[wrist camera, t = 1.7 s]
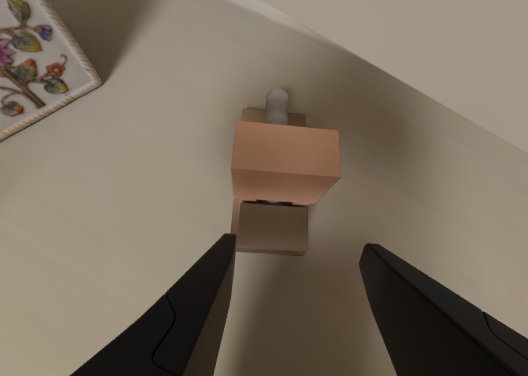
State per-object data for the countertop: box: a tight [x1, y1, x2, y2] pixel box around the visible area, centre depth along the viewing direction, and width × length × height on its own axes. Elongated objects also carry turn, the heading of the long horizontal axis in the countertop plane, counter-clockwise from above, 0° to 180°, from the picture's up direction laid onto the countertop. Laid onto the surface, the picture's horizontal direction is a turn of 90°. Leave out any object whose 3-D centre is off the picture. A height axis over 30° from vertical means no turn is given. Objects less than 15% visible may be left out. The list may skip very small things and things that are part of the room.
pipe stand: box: [230, 89, 308, 256], centre depth 22 cm, size 14×6×5 cm, turn 177°
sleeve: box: [231, 121, 341, 208], centre depth 18 cm, size 3×6×8 cm, turn 87°
